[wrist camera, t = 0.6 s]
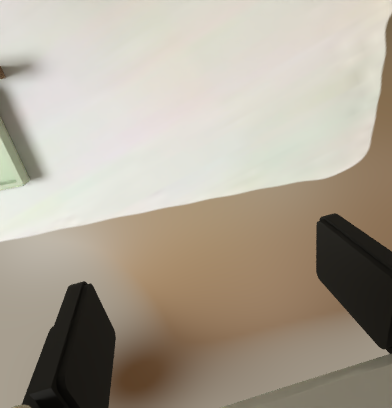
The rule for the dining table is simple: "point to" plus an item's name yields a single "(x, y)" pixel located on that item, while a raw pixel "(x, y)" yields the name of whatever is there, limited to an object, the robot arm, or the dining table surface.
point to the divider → (1, 73)
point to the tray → (10, 163)
